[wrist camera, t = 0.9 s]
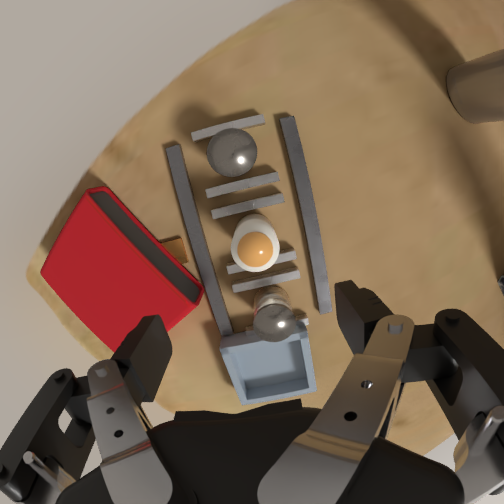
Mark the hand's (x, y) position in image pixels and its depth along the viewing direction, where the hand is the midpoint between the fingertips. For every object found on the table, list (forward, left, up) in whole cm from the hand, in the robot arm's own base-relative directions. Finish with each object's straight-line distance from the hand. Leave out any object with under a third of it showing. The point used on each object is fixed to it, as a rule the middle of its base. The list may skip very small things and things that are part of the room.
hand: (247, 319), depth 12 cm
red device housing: (+18, +1, -20) cm, 27 cm away
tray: (+2, +19, -20) cm, 28 cm away
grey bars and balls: (+2, +1, -20) cm, 21 cm away
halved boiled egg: (0, +1, -20) cm, 21 cm away
